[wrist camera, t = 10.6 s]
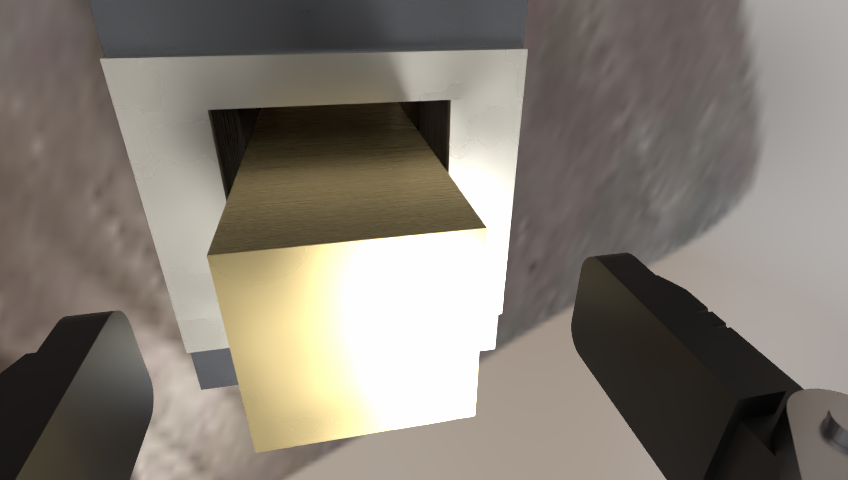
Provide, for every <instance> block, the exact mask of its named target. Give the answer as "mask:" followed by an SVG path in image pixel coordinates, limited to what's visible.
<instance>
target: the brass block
mask: <svg viewBox="0 0 848 480" xmlns="http://www.w3.org/2000/svg"><path fill="white" fill-rule="evenodd" d="M486 240H487V227H486V226H485V224H484V223H483V221H482V220H481V219H480V217H479V216H478V214H477V213H476V211H475V210H474V209H473V207H472V206H471V204H470V203H469V202H468V200H467V199H466V197H465V196H464V195H463V193H462V192H461V190H460V189H459V188H458V186H457V185H456V183H455V182H454V181H453V179H452V178H451V176H450V175H449V174H448V172H447V171H446V169H445V168H444V167H443V165H442V164H441V162H440V161H439V160H438V158H437V157H436V155H435V154H434V153H433V151H432V150H431V148H430V147H429V146H428V144H427V143H426V141H425V140H424V139H423V137H422V136H421V134H420V133H419V132H418V130H417V129H416V127H415V126H414V124H413V123H412V122H411V120H410V119H409V117H408V116H407V115H406V113H405V112H404V110H403V109H402V108H401V106H400V105H399V103H398V102H384V103H359V104H335V105H311V106H287V107H263V108H261V111H260V114H259V116H258V119H257V122H256V124H255V127H254V130H253V132H252V135H251V138H250V140H249V143H248V146H247V148H246V151H245V154H244V157H243V159H242V162H241V165H240V167H239V170H238V173H237V175H236V178H235V181H234V183H233V186H232V189H231V191H230V194H229V197H228V200H227V202H226V205H225V208H224V210H223V213H222V216H221V218H220V221H219V224H218V226H217V229H216V232H215V235H214V237H213V240H212V243H211V245H210V248H209V251H208V253H207V259H208V263H209V267H210V271H211V275H212V279H213V283H214V287H215V291H216V295H217V299H218V303H219V307H220V311H221V315H222V319H223V323H224V327H225V332H226V336H227V340H228V344H229V348H230V352H231V356H232V360H233V364H234V368H235V372H236V376H237V380H238V384H239V388H240V392H241V396H242V400H243V404H244V408H245V412H246V416H247V420H248V424H249V428H250V432H251V436H252V440H253V444H254V448H255V452H256V453H258V452H264V451H270V450H276V449H282V448H288V447H293V446H299V445H305V444H311V443H317V442H323V441H329V440H335V439H341V438H346V437H352V436H358V435H364V434H370V433H376V432H382V431H387V430H393V429H399V428H405V427H411V426H417V425H423V424H429V423H435V422H441V421H447V420H453V419H458V418H464V417H470V416H474V415H475V405H476V390H477V374H478V360H479V345H480V330H481V315H482V300H483V285H484V270H485V255H486Z"/></svg>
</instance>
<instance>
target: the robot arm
mask: <svg viewBox="0 0 848 480" xmlns="http://www.w3.org/2000/svg"><path fill="white" fill-rule="evenodd" d="M571 331H572V337H573V342H574V345H575V348H576V350H577V352H578V354H579V355H580V357H581V358H582V360H583V361H584V362H585V364H586V365H587V367H588V368H589V370H590V371H591V372H592V374H593V375H594V377H595V378H596V379H597V381H598V382H599V384H600V385H601V387H602V388H603V390H604V391H605V392H606V394H607V395H608V397H609V398H610V399H611V401H612V402H613V404H614V405H615V407H616V408H617V409H618V411H619V412H620V414H621V415H622V416H623V418H624V419H625V421H626V422H627V424H628V425H629V427H630V428H631V429H632V431H633V432H634V433H635V435H636V437H637V438H638V439H639V441H640V442H641V444H642V445H643V446H644V448H645V449H646V451H647V452H648V454H649V455H650V456H651V458H652V459H653V461H654V462H655V463H656V465H657V466H658V468H659V469H660V471H661V472H662V474H663V475H664V476H665V478H666V479H667V480H848V395H846V394H843V393H839V392H835V391H831V390H825V389H805V390H804V389H803V388H801V387H800V386H799V385H798V384H797V383H796V382H795V381H793V380H792V379H791V378H790V377H789V376H788V375H786V374H785V373H784V372H783V371H782V370H780V369H779V368H778V367H777V366H776V365H775V364H773V363H772V362H771V361H770V360H769V359H767V358H766V357H765V356H764V355H763V354H762V353H760V352H759V351H758V350H757V349H755V348H754V347H753V346H752V345H751V344H750V343H749V342H747V341H746V340H745V339H744V338H743V337H741V336H740V335H739V334H738V333H737V332H736V331H734V330H733V329H732V328H731V327H730V328H727V327H726V323H725V322H724V321H723V320H721V319H720V318H719V317H718V316H717V315H716V314H714V313H713V312H708V309H707V307H706V306H705V305H704V304H702V303H701V302H700V301H699V300H698V299H696V298H695V297H694V296H693V295H692V294H691V293H690V292H688V291H687V290H686V289H684V288H682V287H680V286H678V285H676V284H674V283H672V282H670V281H668V280H666V279H664V278H662V277H660V276H658V275H655V274H654V273H653V272H652V271H650V270H649V269H648V268H647V267H646V266H645V265H644V264H642V263H641V262H640V261H639V260H638V259H637V258H636V257H634V256H633V255H632V254H629V253H620V254H611V255H602V256H594V257H589V258H587V259H586V260H585V261H584V263H583V265H582V269H581V274H580V279H579V284H578V290H577V295H576V300H575V306H574V311H573V317H572V323H571ZM152 411H153V387H152V382H151V379H150V376H149V373H148V371H147V368H146V365H145V363H144V360H143V357H142V355H141V352H140V349H139V347H138V344H137V341H136V339H135V336H134V333H133V331H132V328H131V326H130V323H129V321H128V319H127V317H126V315H125V314H124V313H123V312H121V311H109V312H100V313H91V314H83V315H74V316H66V317H63V318H62V319H61V320H59V322H58V323H57V324H56V326H55V327H54V328H53V330H52V331H51V333H50V334H49V335H48V337H47V338H46V340H45V341H44V342H43V344H42V345H41V347H40V348H39V349H38V351H37V352H36V353H30V354H25V355H24V356H23V357H21V358H20V359H19V360H17V361H16V362H15V363H13V364H12V365H11V366H10V367H8V368H7V369H6V370H4V371H3V372H2V373H1V374H0V480H130V477H131V474H132V471H133V468H134V466H135V463H136V460H137V457H138V454H139V451H140V448H141V446H142V443H143V440H144V437H145V434H146V431H147V428H148V426H149V423H150V420H151V416H152Z"/></svg>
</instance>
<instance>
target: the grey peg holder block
mask: <svg viewBox="0 0 848 480" xmlns="http://www.w3.org/2000/svg"><path fill="white" fill-rule="evenodd" d="M88 1H89V4H90V8H91V11H92V15H93V18H94V22H95V25H96V29H97V32H98V35H99V39H100V42H101V46H102V49H103V53H104V56H105V57H103V58H100V61H101V65H102V68H103V71H104V75H105V78H106V82H107V85H108V88H109V92H110V95H111V99H112V102H113V105H114V109H115V112H116V115H117V119H118V122H119V126H120V129H121V132H122V136H123V139H124V143H125V146H126V149H127V153H128V156H129V159H130V163H131V166H132V170H133V173H134V176H135V180H136V183H137V187H138V190H139V193H140V197H141V200H142V203H143V207H144V210H145V214H146V217H147V220H148V224H149V227H150V231H151V234H152V237H153V241H154V244H155V248H156V251H157V254H158V258H159V261H160V264H161V268H162V271H163V275H164V278H165V281H166V285H167V288H168V292H169V295H170V298H171V302H172V305H173V308H174V312H175V315H176V319H177V322H178V325H179V329H180V332H181V336H182V339H183V342H184V346H185V349H186V352H187V353H191V356H192V359H193V363H194V366H195V370H196V373H197V376H198V380H199V383H200V387H201V390H203V389H210V388H217V387H225V386H232V385H239V384H238V380H237V376H236V372H235V368H234V364H233V360H232V356H231V352H230V348H229V344H228V340H227V336H226V332H225V327H224V323H223V319H222V315H221V311H220V307H219V303H218V299H217V295H216V291H215V287H214V283H213V279H212V275H211V271H210V267H209V263H208V259H207V253H208V251H209V248H210V245H211V243H212V240H213V237H214V235H215V232H216V229H217V226H218V224H219V221H220V218H221V216H222V213H223V210H224V208H225V205H226V202H227V200H228V197H229V194H230V191H231V189H232V186H233V183H234V181H235V178H236V175H237V173H238V170H239V167H240V165H241V162H242V159H243V157H244V154H245V147H244V141H243V135H242V130H241V124H240V118H239V113H238V109H239V108H263V107H287V106H311V105H335V104H359V103H384V102H408V101H419V133H420V134H421V136H422V137H423V139H424V140H425V141H426V143H427V144H428V146H429V147H430V148H431V150H432V151H433V153H434V154H435V155H436V157H437V158H438V160H439V161H440V162H441V164H442V165H443V167H444V168H445V169H446V171H447V172H448V174H449V175H450V176H451V178H452V179H453V181H454V182H455V183H456V185H457V186H458V188H459V189H460V190H461V192H462V193H463V195H464V196H465V197H466V199H467V200H468V202H469V203H470V204H471V206H472V207H473V209H474V210H475V211H476V213H477V214H478V216H479V217H480V219H481V220H482V221H483V223H484V224H485V226H486V227H487V240H486V255H485V270H484V285H483V300H482V315H481V330H480V345H479V351H483V350H490V349H495V342H496V332H497V321H498V314H502V305H503V295H504V285H505V275H506V265H507V255H508V245H509V234H510V224H511V214H512V204H513V194H514V184H515V174H516V164H517V153H518V143H519V133H520V123H521V113H522V103H523V93H524V83H525V72H526V62H527V52H528V49H526V48H523V46H524V36H525V25H526V15H527V4H528V0H88Z"/></svg>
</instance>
